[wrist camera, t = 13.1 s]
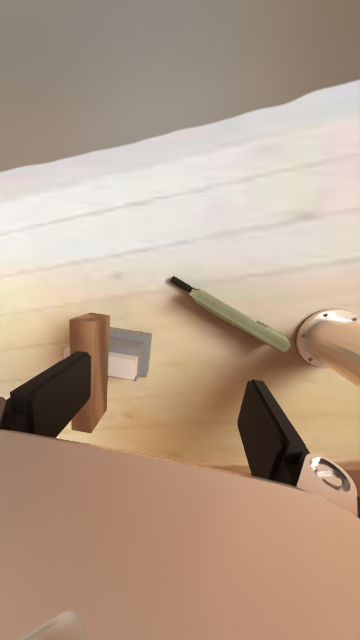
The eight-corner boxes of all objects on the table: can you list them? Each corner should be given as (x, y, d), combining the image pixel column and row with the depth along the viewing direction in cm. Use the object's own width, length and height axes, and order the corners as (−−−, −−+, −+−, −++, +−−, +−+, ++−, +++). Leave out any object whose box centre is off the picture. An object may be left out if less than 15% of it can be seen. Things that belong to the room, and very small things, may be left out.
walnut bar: (110, 315, 31) (92, 323, 26) (106, 410, 36) (91, 433, 31) (90, 312, 31) (69, 319, 26) (89, 407, 36) (71, 429, 31)
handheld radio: (267, 344, 38) (168, 286, 37) (276, 331, 38) (175, 272, 36) (283, 356, 32) (163, 286, 31) (294, 341, 31) (172, 269, 30)
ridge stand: (151, 333, 40) (141, 347, 32) (147, 372, 42) (137, 394, 34) (83, 323, 40) (57, 333, 33) (83, 362, 43) (59, 380, 35)
